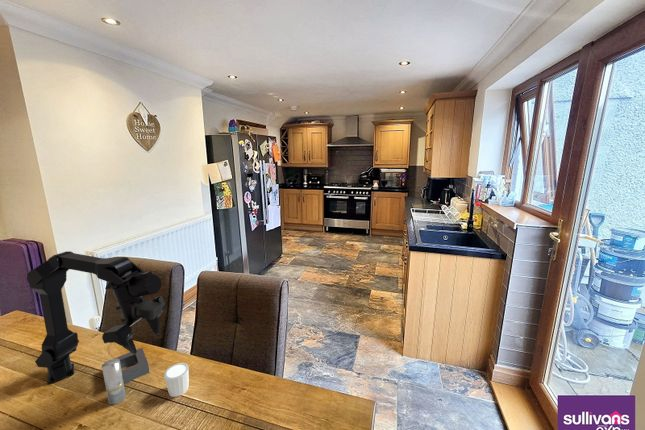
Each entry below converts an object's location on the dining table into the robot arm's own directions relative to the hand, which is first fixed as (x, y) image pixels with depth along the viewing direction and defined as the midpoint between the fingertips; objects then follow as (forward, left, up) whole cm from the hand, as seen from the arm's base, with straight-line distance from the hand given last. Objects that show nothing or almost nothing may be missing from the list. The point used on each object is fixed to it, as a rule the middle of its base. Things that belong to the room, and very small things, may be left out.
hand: (146, 343), depth 85 cm
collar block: (-12, -5, -15) cm, 21 cm away
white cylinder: (+8, +6, -16) cm, 18 cm away
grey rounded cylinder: (-1, -9, -15) cm, 18 cm away
